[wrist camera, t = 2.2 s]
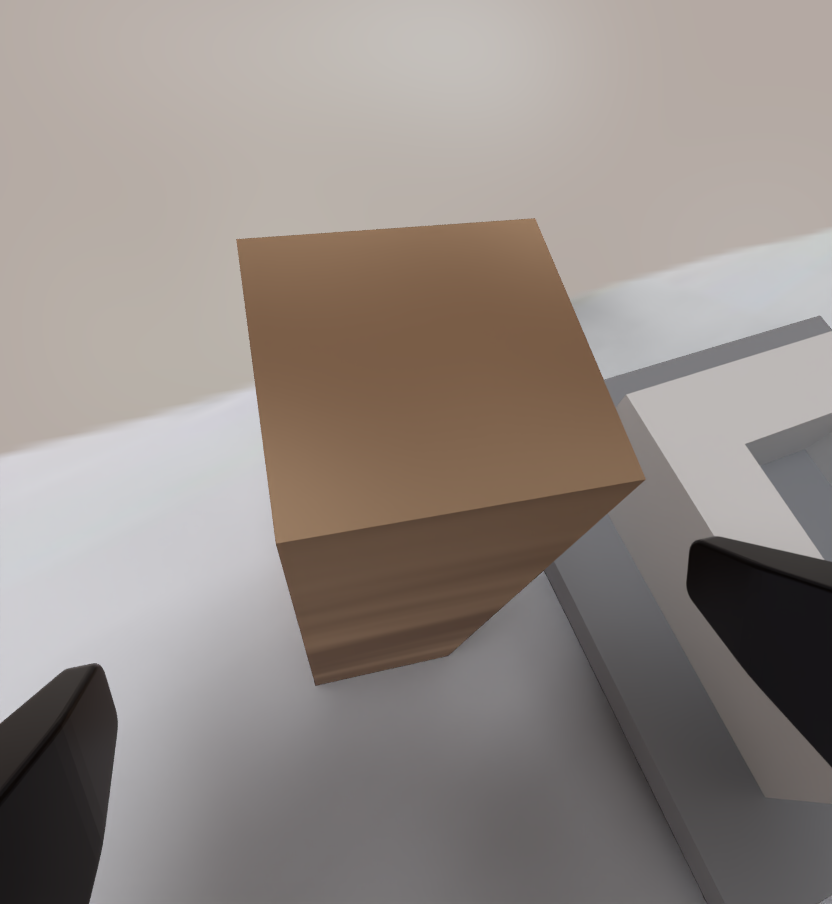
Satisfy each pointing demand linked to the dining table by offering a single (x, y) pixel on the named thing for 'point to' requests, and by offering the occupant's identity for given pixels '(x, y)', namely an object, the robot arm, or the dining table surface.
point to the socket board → (673, 699)
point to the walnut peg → (422, 431)
